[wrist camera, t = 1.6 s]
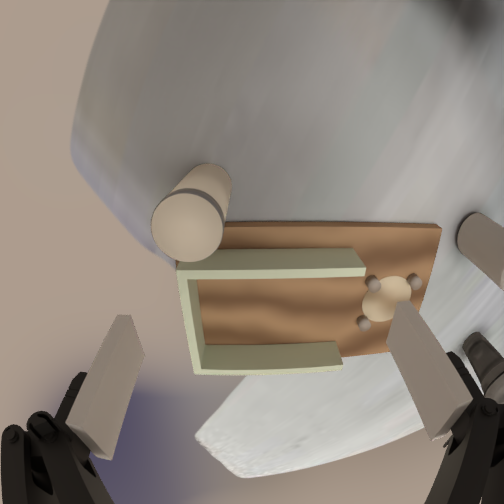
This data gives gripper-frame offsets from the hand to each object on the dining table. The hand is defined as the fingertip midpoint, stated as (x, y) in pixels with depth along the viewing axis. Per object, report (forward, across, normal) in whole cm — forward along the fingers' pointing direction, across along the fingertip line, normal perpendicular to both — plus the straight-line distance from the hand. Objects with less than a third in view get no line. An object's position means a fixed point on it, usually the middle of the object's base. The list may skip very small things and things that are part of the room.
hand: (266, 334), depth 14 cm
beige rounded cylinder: (+20, -5, +2) cm, 21 cm away
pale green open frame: (+18, +1, -12) cm, 22 cm away
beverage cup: (+20, +40, -26) cm, 52 cm away
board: (+20, +7, -12) cm, 24 cm away
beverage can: (+20, +30, -4) cm, 36 cm away
